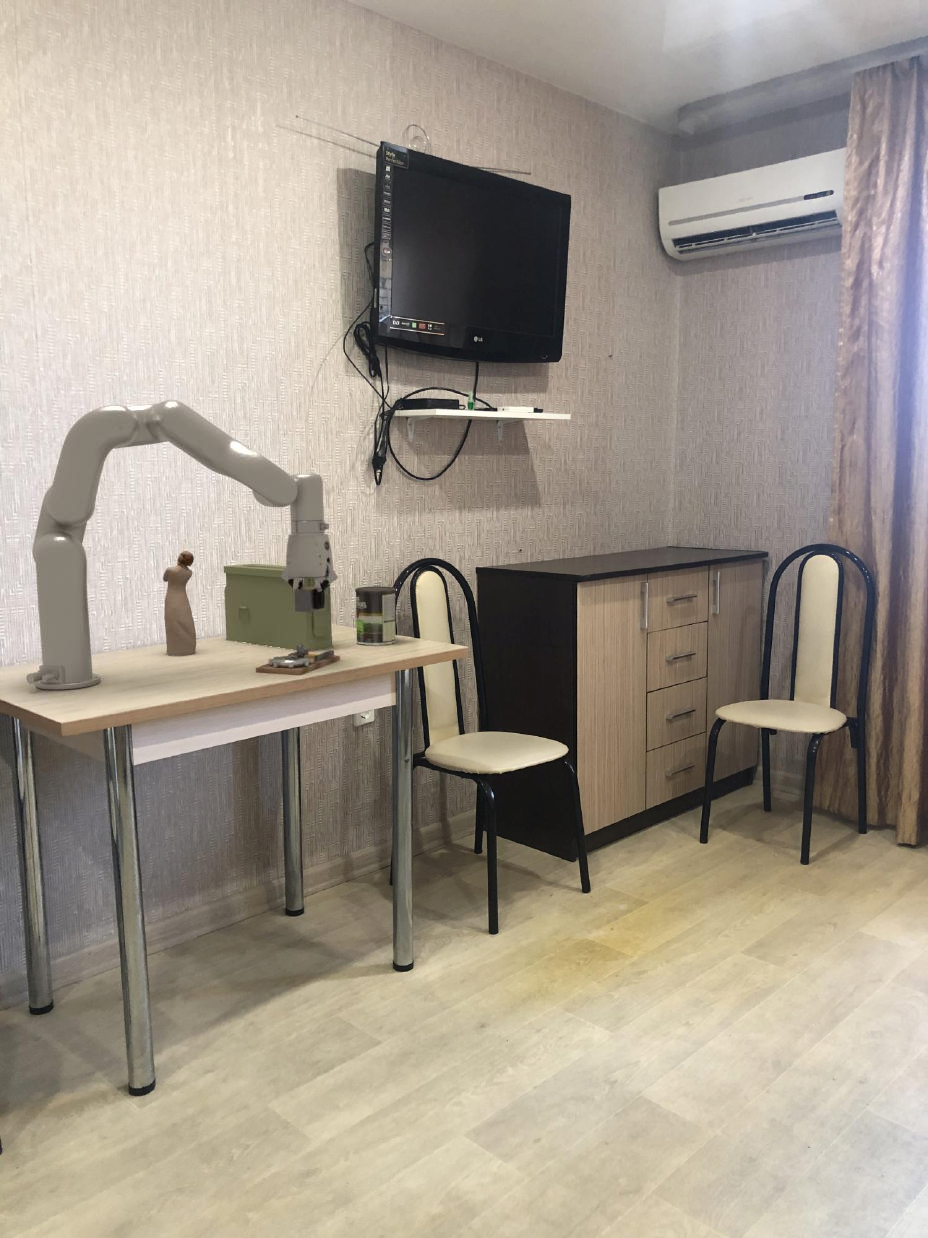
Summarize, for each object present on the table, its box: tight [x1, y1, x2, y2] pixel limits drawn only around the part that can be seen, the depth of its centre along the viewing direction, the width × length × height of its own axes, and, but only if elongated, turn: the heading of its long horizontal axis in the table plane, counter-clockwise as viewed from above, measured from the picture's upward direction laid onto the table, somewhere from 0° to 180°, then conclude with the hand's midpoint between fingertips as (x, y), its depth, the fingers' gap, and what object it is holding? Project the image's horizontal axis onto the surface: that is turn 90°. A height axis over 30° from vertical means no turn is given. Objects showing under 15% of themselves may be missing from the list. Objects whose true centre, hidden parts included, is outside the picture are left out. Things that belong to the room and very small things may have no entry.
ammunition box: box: [223, 563, 335, 653], centre depth 254 cm, size 10×33×20 cm, turn 52°
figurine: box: [162, 550, 197, 657], centre depth 241 cm, size 8×8×25 cm
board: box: [255, 649, 341, 676], centre depth 225 cm, size 19×11×2 cm, turn 160°
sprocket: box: [268, 644, 313, 667], centre depth 220 cm, size 10×10×4 cm
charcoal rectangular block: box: [295, 586, 325, 612], centre depth 228 cm, size 7×4×5 cm, turn 161°
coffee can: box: [354, 586, 397, 646], centre depth 255 cm, size 10×10×14 cm
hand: (310, 607), depth 228 cm, fingers closed on charcoal rectangular block, 4 cm apart
